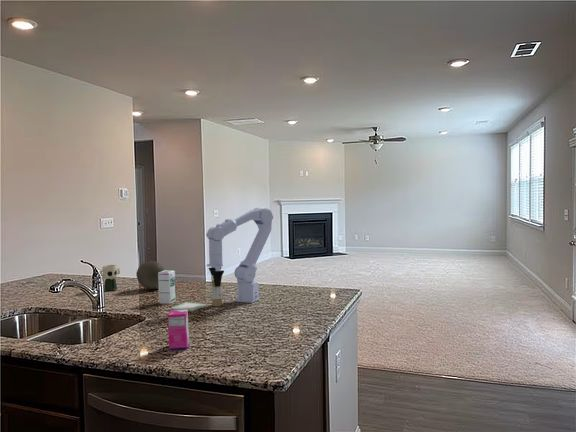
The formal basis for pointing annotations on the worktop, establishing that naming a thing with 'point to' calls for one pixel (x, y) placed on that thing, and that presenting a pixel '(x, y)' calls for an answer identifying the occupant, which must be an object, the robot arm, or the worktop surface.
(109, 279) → the character mug
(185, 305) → the green white square tile
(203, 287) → the worktop surface
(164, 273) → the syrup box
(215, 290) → the sprinkles bottle
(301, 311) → the worktop surface
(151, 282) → the cantaloupe
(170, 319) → the supplement box
